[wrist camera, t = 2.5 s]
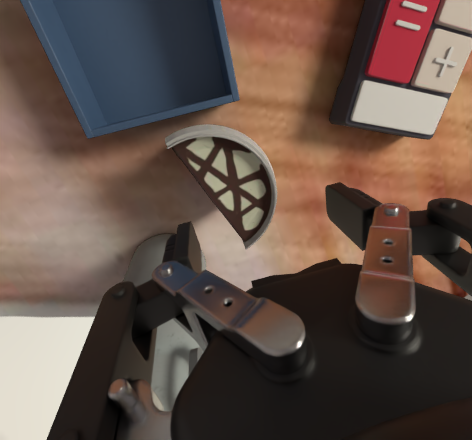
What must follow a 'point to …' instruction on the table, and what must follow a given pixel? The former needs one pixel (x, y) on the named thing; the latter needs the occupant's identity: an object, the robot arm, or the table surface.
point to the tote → (136, 58)
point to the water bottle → (165, 328)
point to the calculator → (404, 66)
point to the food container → (230, 175)
